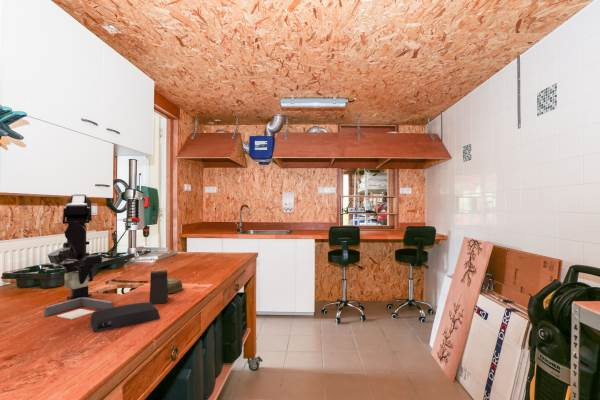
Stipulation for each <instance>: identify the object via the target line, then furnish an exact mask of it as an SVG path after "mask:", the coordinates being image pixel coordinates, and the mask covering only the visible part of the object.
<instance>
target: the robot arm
mask: <svg viewBox="0 0 600 400" xmlns="http://www.w3.org/2000/svg"><path fill="white" fill-rule="evenodd" d="M70 197H71V198H70V199H68V200H67V202H66V204H65V206H64V207H63V212H62V224H64V225H67V226H66V228H65V230H64V231H65V232H64V237H65V239H66V242H63V244H62V247H61V248H57V249H56V250H54V251H51V252H49V253H48V254H47V258H48V260H49V262H50V264H56V265H57V266H60V267H61V268H63V270H64V272H65V273H70V272H73V271H75V272H76V271H78V273H79V282H80V284H83V283H84V282H85V280H86V278H87V276H88V283H91V282H93V281H94V270H93V267H94V266H96V265H98V264H102V263H103V257H102V256H101V255H99V254H91V255H90V252H87V245H90V241H88V240H87V225H86V224H90V222H92V215H93V214H92V213H93V211H92V201H91V200H90V199H89V198H87V194H81V193H80V194H76V193H75V194H74V193H73V194H71V196H70ZM90 296H92V293H89V285H88V286H85V287H81V288H77V289H70V295H68V296H66V298H67V299H71V300H73V299H77V298H81V297H85V298H88V297H90Z"/></svg>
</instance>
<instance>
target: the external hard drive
mask: <svg viewBox="0 0 600 400" xmlns="http://www.w3.org/2000/svg"><path fill="white" fill-rule="evenodd" d="M94 311H95V310H94ZM159 319H161V315H160V313H159V310H158V309H157V307H156V306H154V304H151V303H150V302H149V301H147V302H146V301H145V302H136V303H130V304H129V303H128V304H122V305H116V306H113V307H111V308H107V309H102V310H101V309H97V310H96V311H95V312H93V313H91V316H90V319H89V323H90V326H91V331H92V333H98V332H103V331H110V330H114V329H115V328H116V329H120V328H124V327H130V326H134V325H139V324H143V323H148V322H153V321H156V320H159Z"/></svg>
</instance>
